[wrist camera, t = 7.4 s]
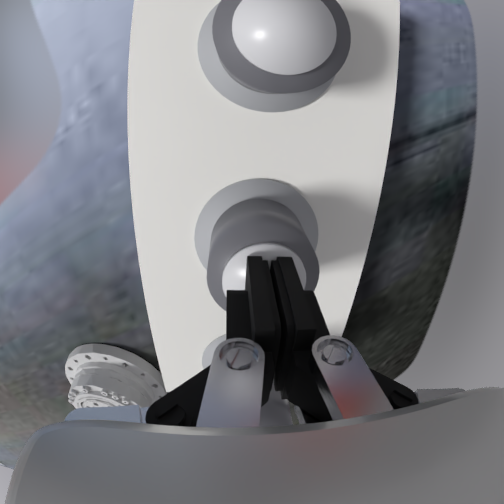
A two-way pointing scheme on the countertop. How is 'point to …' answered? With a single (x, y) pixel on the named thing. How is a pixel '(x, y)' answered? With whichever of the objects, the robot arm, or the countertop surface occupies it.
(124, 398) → the mechanical component
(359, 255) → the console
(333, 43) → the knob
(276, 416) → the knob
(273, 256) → the knob middle
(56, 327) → the countertop surface
